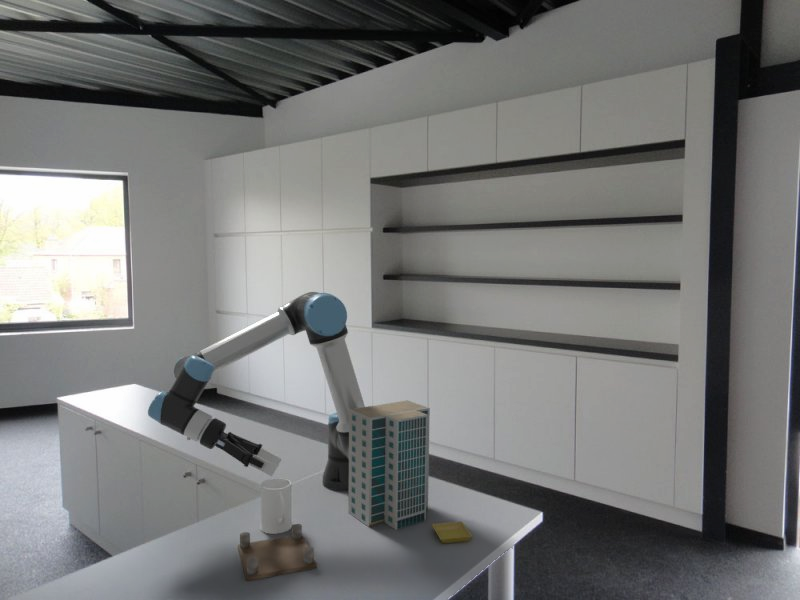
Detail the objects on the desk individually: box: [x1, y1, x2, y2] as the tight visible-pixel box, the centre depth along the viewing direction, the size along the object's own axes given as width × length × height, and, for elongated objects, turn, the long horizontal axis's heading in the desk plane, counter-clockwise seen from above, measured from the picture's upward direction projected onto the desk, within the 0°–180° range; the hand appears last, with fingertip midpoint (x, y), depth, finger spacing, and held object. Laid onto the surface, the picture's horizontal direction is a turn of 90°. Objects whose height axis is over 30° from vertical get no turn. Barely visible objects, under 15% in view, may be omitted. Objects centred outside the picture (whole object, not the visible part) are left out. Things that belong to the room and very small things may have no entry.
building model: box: [347, 400, 431, 531], centre depth 163 cm, size 20×16×30 cm
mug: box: [259, 477, 293, 535], centre depth 153 cm, size 12×8×12 cm
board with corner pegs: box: [237, 523, 318, 582], centre depth 138 cm, size 16×16×4 cm
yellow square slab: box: [431, 521, 473, 544], centre depth 151 cm, size 9×9×2 cm
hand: (277, 467), depth 153 cm, fingers open, 13 cm apart
